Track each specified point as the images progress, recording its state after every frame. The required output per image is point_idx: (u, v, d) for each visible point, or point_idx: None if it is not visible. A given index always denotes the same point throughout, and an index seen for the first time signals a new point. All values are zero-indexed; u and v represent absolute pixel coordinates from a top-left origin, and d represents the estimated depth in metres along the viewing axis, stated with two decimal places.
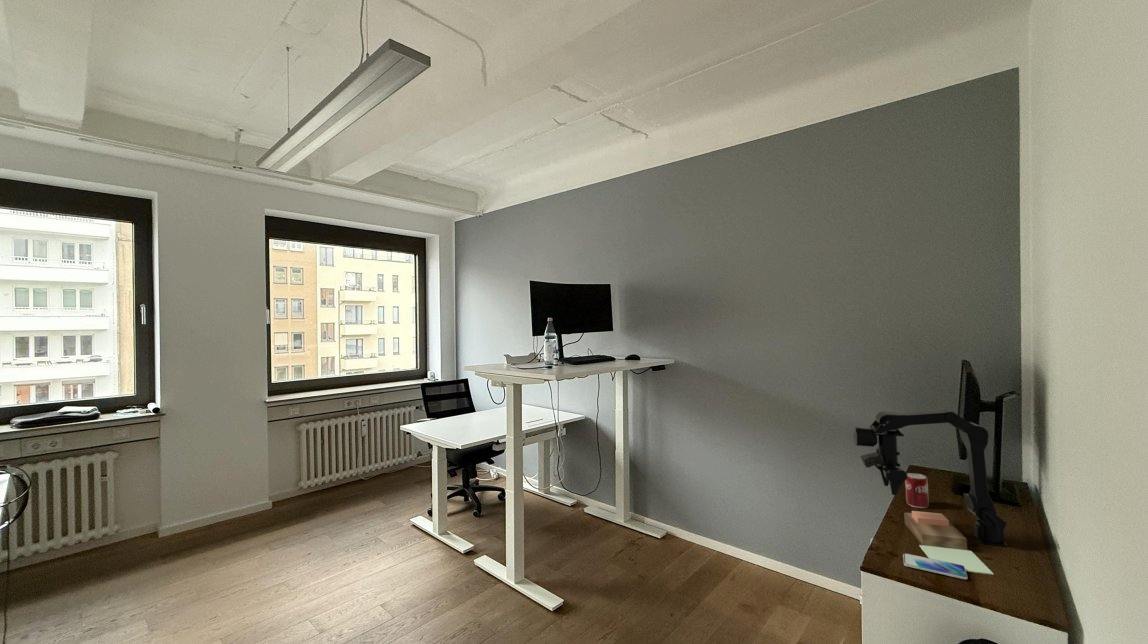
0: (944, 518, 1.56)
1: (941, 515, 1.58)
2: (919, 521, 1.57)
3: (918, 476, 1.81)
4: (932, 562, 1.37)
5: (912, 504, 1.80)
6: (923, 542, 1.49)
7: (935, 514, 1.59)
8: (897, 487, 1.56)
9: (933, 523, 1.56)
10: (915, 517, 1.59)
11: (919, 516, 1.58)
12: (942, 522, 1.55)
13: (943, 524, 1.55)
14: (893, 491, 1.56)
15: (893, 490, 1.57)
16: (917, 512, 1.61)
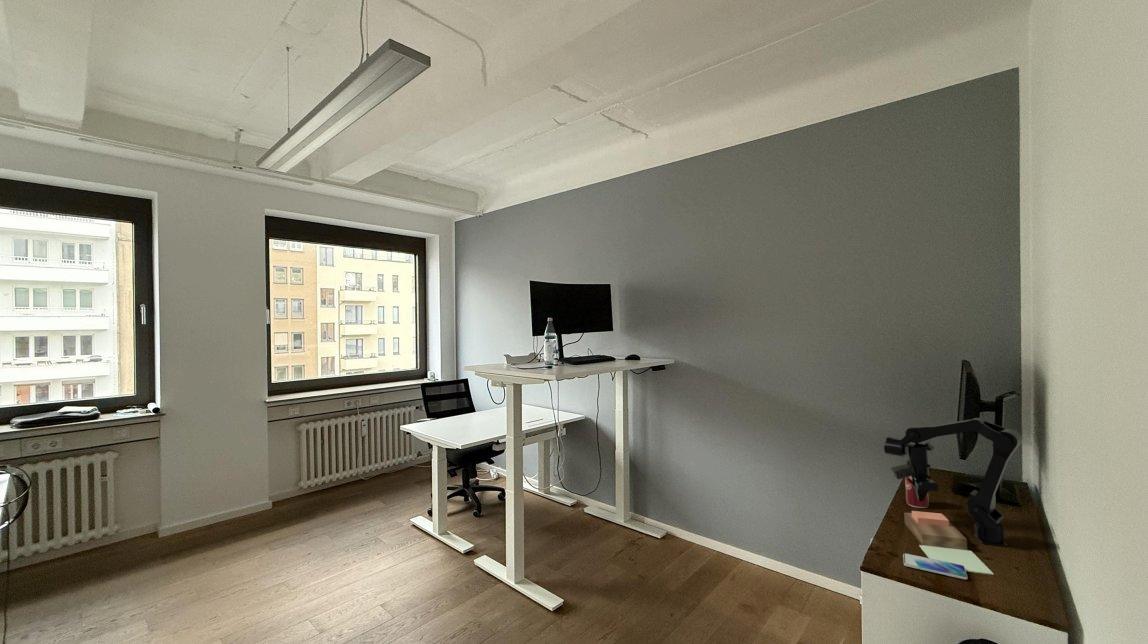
0: (944, 518, 1.56)
1: (941, 515, 1.58)
2: (919, 521, 1.57)
3: None
4: (932, 562, 1.37)
5: (912, 504, 1.80)
6: (923, 542, 1.49)
7: (935, 514, 1.59)
8: (924, 494, 1.66)
9: (933, 523, 1.56)
10: (915, 517, 1.59)
11: (919, 516, 1.58)
12: (942, 522, 1.55)
13: (943, 524, 1.55)
14: (920, 498, 1.66)
15: (920, 496, 1.66)
16: (917, 512, 1.61)
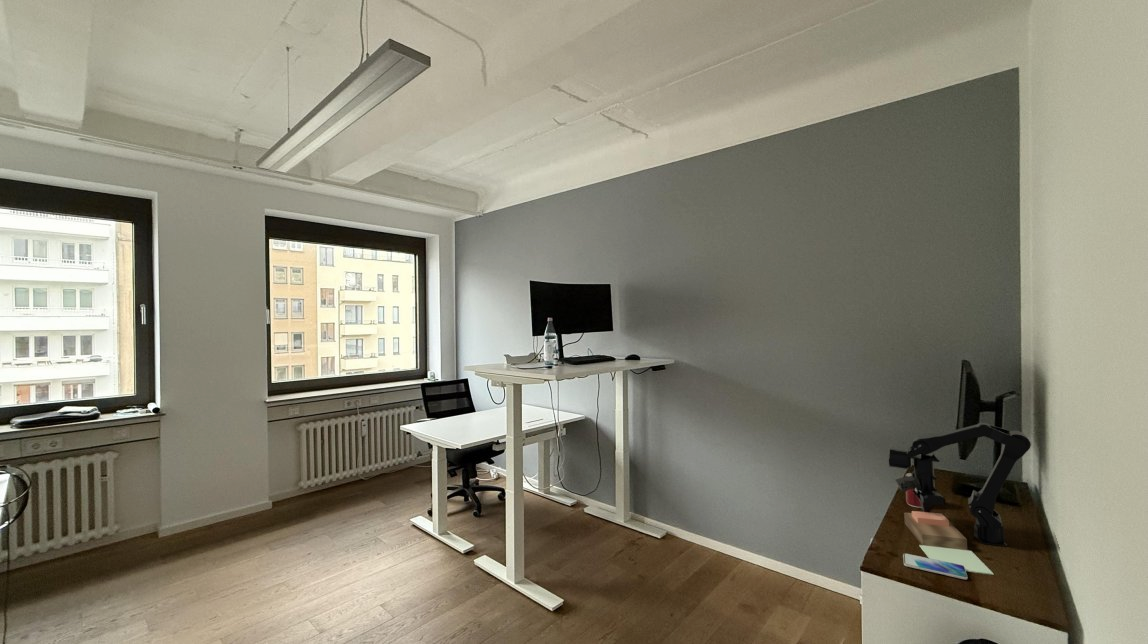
0: (944, 518, 1.56)
1: (941, 515, 1.58)
2: (919, 521, 1.57)
3: None
4: (932, 562, 1.37)
5: (912, 504, 1.80)
6: (923, 542, 1.49)
7: (935, 514, 1.59)
8: (929, 507, 1.61)
9: (933, 523, 1.56)
10: (915, 517, 1.59)
11: (919, 516, 1.58)
12: (942, 522, 1.55)
13: (943, 524, 1.55)
14: (925, 511, 1.61)
15: (925, 509, 1.61)
16: (917, 512, 1.61)
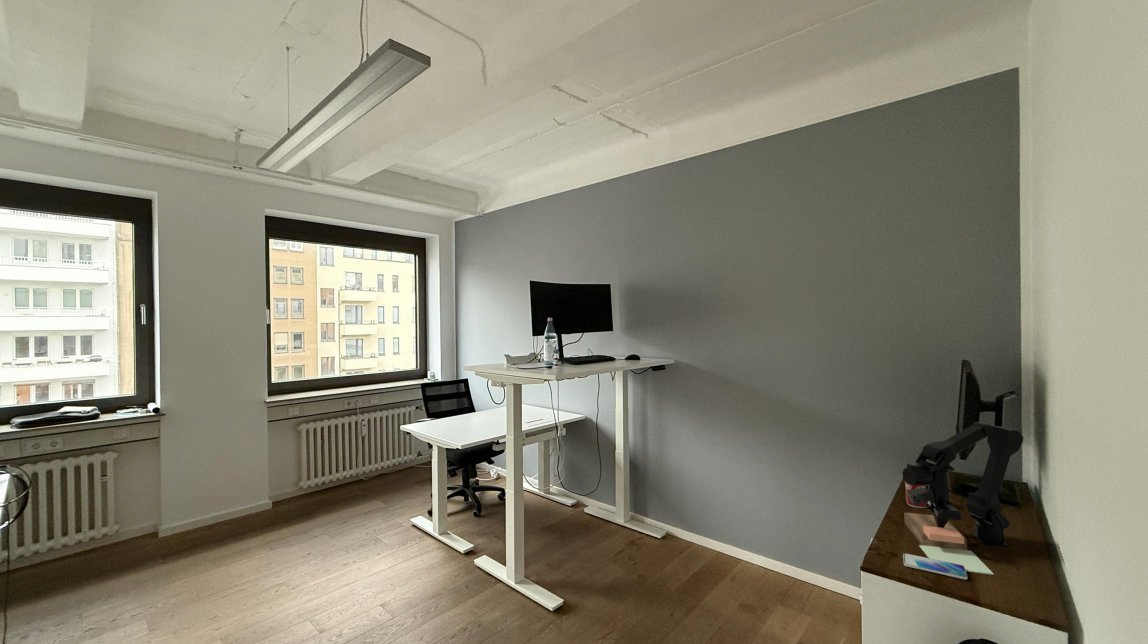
0: (959, 535, 1.44)
1: (955, 531, 1.47)
2: (931, 537, 1.46)
3: None
4: (932, 562, 1.37)
5: (912, 504, 1.80)
6: (923, 542, 1.49)
7: (949, 530, 1.48)
8: (944, 521, 1.49)
9: (947, 540, 1.44)
10: (927, 533, 1.48)
11: (931, 532, 1.47)
12: (956, 539, 1.43)
13: (958, 541, 1.43)
14: (939, 526, 1.50)
15: (939, 524, 1.50)
16: (929, 527, 1.50)
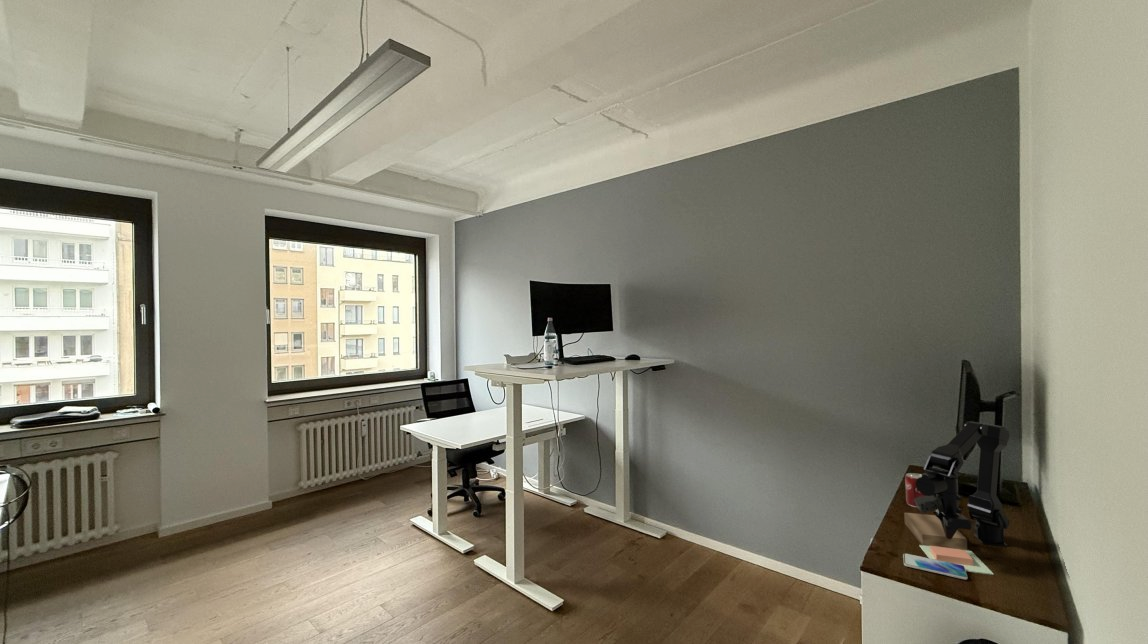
0: None
1: None
2: None
3: (918, 476, 1.81)
4: (932, 562, 1.37)
5: (912, 504, 1.80)
6: (923, 542, 1.49)
7: None
8: (953, 531, 1.43)
9: None
10: (932, 552, 1.43)
11: None
12: None
13: None
14: (948, 535, 1.43)
15: (948, 533, 1.43)
16: None
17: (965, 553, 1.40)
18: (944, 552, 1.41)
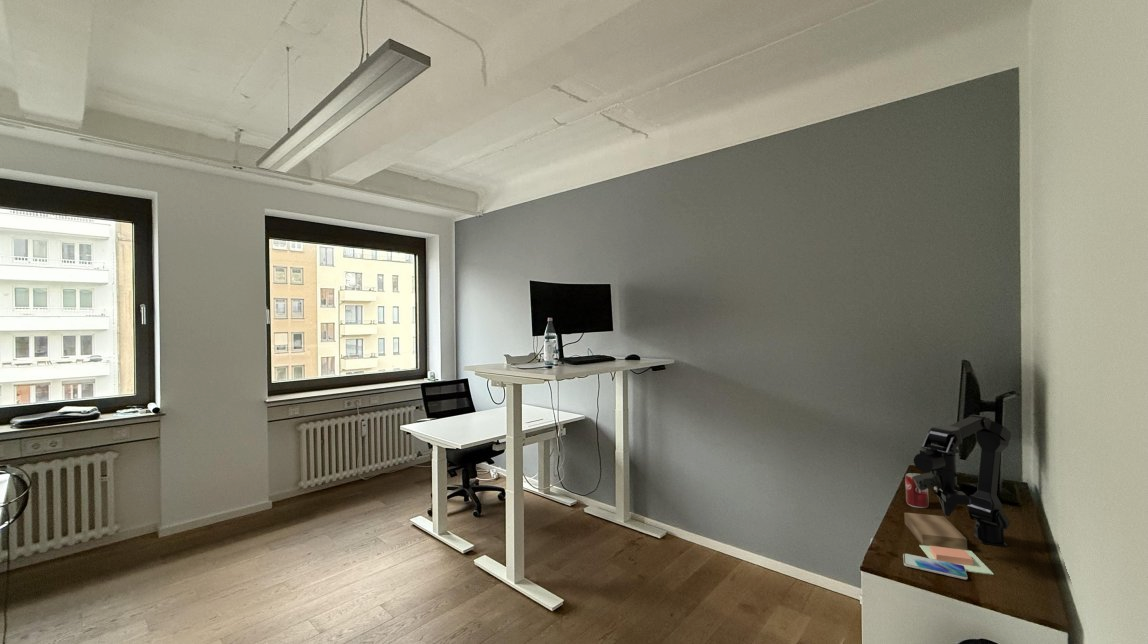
0: None
1: None
2: None
3: None
4: (932, 562, 1.37)
5: (912, 504, 1.80)
6: (923, 542, 1.49)
7: None
8: (951, 507, 1.43)
9: None
10: (932, 552, 1.43)
11: None
12: None
13: None
14: (946, 512, 1.44)
15: (947, 510, 1.44)
16: None
17: (965, 553, 1.40)
18: (944, 552, 1.41)
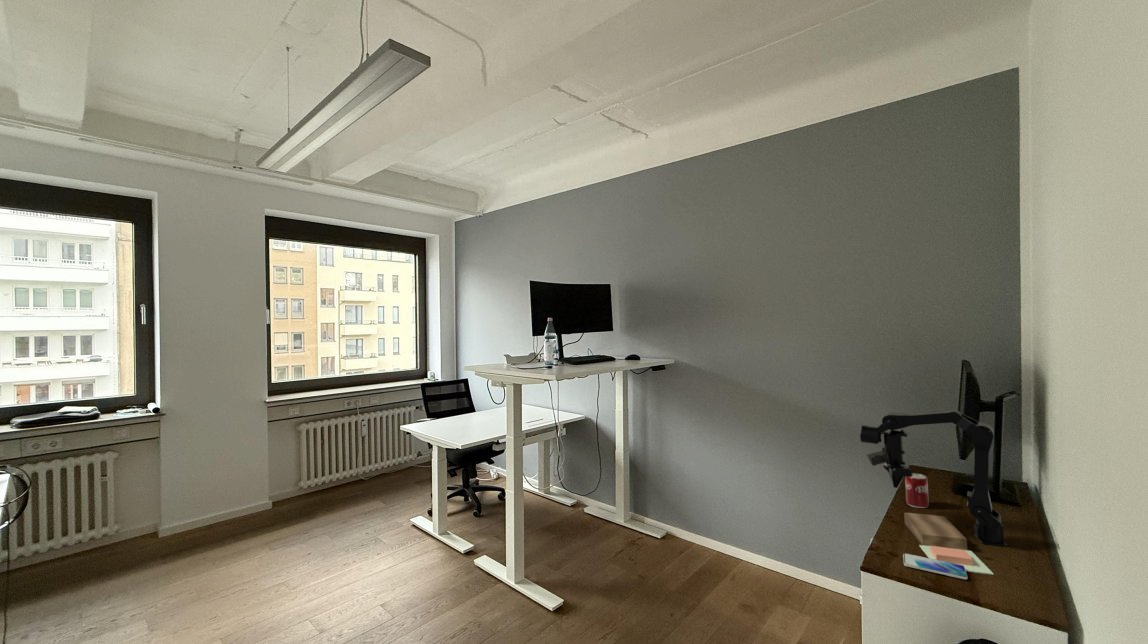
0: None
1: None
2: None
3: (918, 476, 1.81)
4: (932, 562, 1.37)
5: (912, 504, 1.80)
6: (923, 542, 1.49)
7: None
8: (898, 480, 1.68)
9: None
10: (932, 552, 1.43)
11: None
12: None
13: None
14: (894, 484, 1.68)
15: (895, 483, 1.68)
16: None
17: (965, 553, 1.40)
18: (944, 552, 1.41)
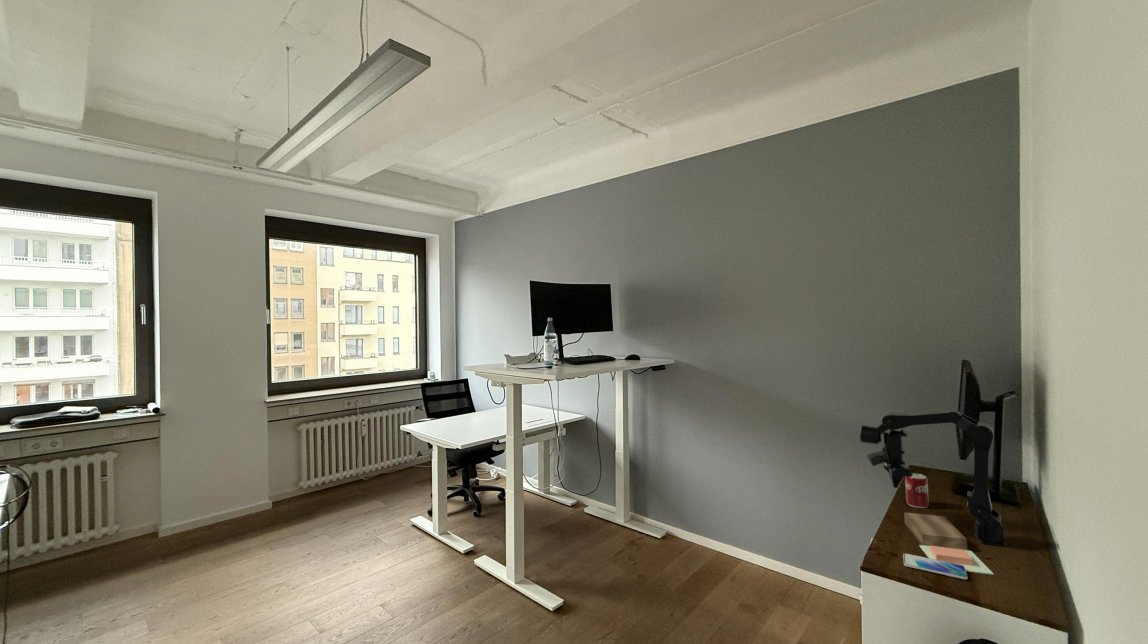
0: None
1: None
2: None
3: (918, 476, 1.81)
4: (932, 562, 1.37)
5: (912, 504, 1.80)
6: (923, 542, 1.49)
7: None
8: (898, 480, 1.68)
9: None
10: (932, 552, 1.43)
11: None
12: None
13: None
14: (894, 484, 1.68)
15: (894, 483, 1.68)
16: None
17: (965, 553, 1.40)
18: (944, 552, 1.41)
